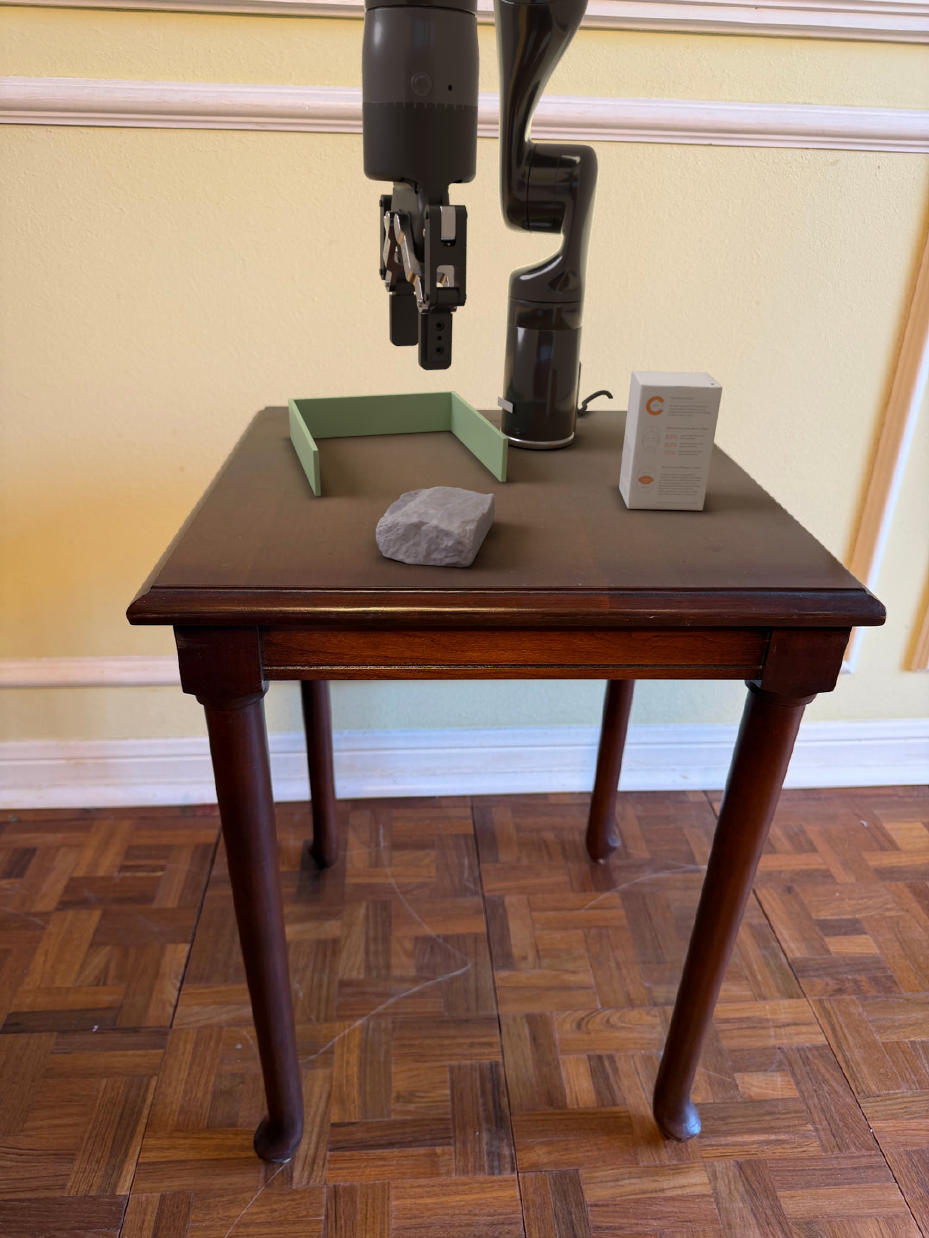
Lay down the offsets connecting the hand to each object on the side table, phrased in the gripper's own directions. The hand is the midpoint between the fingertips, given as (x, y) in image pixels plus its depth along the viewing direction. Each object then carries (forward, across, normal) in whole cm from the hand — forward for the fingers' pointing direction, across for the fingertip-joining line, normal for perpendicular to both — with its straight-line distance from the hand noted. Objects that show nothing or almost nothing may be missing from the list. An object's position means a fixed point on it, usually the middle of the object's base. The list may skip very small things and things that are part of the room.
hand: (418, 356), depth 64 cm
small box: (+19, +15, -31) cm, 39 cm away
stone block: (+19, +10, -4) cm, 22 cm away
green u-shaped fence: (+19, +34, -6) cm, 40 cm away
